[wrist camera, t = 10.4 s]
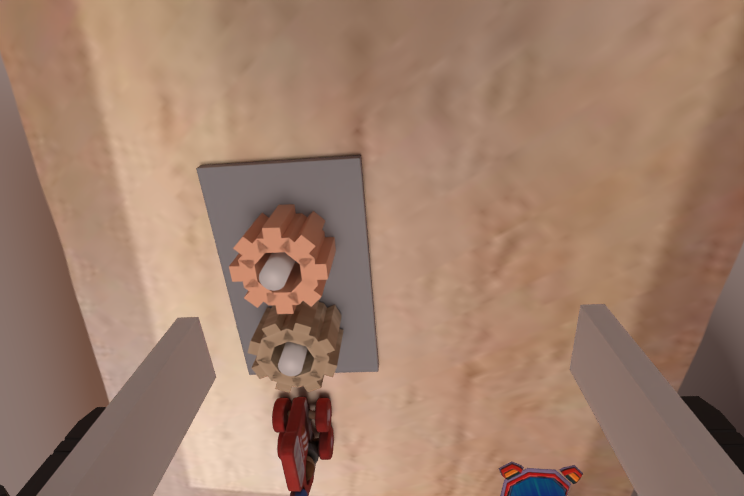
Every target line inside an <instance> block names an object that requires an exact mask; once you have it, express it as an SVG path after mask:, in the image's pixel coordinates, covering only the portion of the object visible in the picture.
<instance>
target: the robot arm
mask: <svg viewBox="0 0 744 496" xmlns="http://www.w3.org/2000/svg"><path fill="white" fill-rule="evenodd" d="M570 371H571V373H572V375H573V376H574V378H575V380H576V382H577V384H578V386H579V387H580V389H581V391H582V393H583V395H584V397H585V399H586V400H587V402H588V404H589V406H590V408H591V410H592V411H593V413H594V415H595V417H596V419H597V421H598V422H599V424H600V426H601V428H602V430H603V432H604V433H605V435H606V437H607V439H608V441H609V443H610V445H611V446H612V448H613V450H614V452H615V454H616V456H617V457H618V459H619V461H620V463H621V465H622V467H623V468H624V470H625V472H626V474H627V476H628V478H629V480H630V481H631V483H632V485H633V487H634V489H635V491H636V492H637V494H638V496H744V437H743V436H742V435H741V434H740V433H737V432H736V429H735V427H734V426H733V425H732V424H731V423H730V422H729V421H728V420H727V419H726V417H725V416H724V415H723V414H722V413H721V412H720V411H719V410H717V409H716V408H714V407H713V406H711V405H710V404H709V403H707V402H706V401H704V400H703V399H702V398H700V397H699V396H683V397H680V396H679V395H678V394H677V392H676V391H675V390H674V389H673V387H672V386H671V385H670V384H669V383H668V381H667V380H666V379H665V378H664V376H663V375H662V374H661V373H660V372H659V370H658V369H657V368H656V367H655V365H654V364H653V363H652V362H651V361H650V359H649V358H648V357H647V356H646V354H645V353H644V352H643V351H642V349H641V348H640V347H639V346H638V345H637V343H636V342H635V341H634V340H633V338H632V337H631V336H630V335H629V334H628V332H627V331H626V330H625V329H624V327H623V326H622V325H621V324H620V323H619V321H618V320H617V319H616V318H615V316H614V315H613V314H612V313H611V311H610V310H609V309H608V308H607V307H606V305H605V304H591V305H580V311H579V317H578V323H577V329H576V335H575V341H574V346H573V352H572V358H571V364H570ZM215 378H216V374H215V371H214V368H213V364H212V361H211V358H210V354H209V351H208V347H207V344H206V341H205V337H204V334H203V331H202V327H201V324H200V321H199V317H187V318H177V319H176V321H175V322H174V323H173V324H172V326H171V327H170V328H169V329H168V331H167V332H166V333H165V334H164V336H163V337H162V338H161V339H160V341H159V342H158V343H157V344H156V346H155V347H154V348H153V349H152V351H151V352H150V353H149V355H148V356H147V357H146V358H145V360H144V361H143V362H142V363H141V365H140V366H139V367H138V368H137V370H136V371H135V372H134V373H133V375H132V376H131V377H130V378H129V380H128V381H127V382H126V383H125V385H124V386H123V387H122V388H121V390H120V391H119V392H118V394H117V395H116V396H115V397H114V399H113V400H112V401H111V402H110V404H109V405H108V406H107V407H97V408H95V409H94V410H93V411H91V412H90V413H89V414H88V415H86V416H85V417H84V418H83V419H81V420H80V421H78V423H77V424H76V425H75V426H74V427H73V428H72V430H71V431H70V432H69V433H68V435H67V436H66V437H65V440H64V441H62V442H61V443H60V444H59V445H58V446H57V448H56V449H55V450H54V453H53V454H52V455H50V456H49V457H48V458H47V459H46V461H45V462H44V463H43V464H42V465H41V467H40V468H39V469H38V470H37V471H36V473H35V474H34V475H33V476H32V477H31V478H30V480H29V481H28V482H27V483H26V484H25V486H24V487H23V488H22V489H21V490H20V492H19V493H18V494H17V495H16V496H153V494H154V492H155V490H156V488H157V486H158V485H159V483H160V481H161V479H162V477H163V475H164V473H165V472H166V470H167V468H168V466H169V464H170V462H171V460H172V459H173V457H174V455H175V453H176V451H177V449H178V447H179V445H180V444H181V442H182V440H183V438H184V436H185V434H186V432H187V431H188V429H189V427H190V425H191V423H192V421H193V419H194V418H195V416H196V414H197V412H198V410H199V408H200V406H201V404H202V403H203V401H204V399H205V397H206V395H207V393H208V391H209V390H210V388H211V386H212V384H213V382H214V380H215ZM0 496H10V495H9V494H8V492H7V491H6V489H5V488H4V486H2V485H0Z"/></svg>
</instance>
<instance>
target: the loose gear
mask: <svg viewBox="0 0 744 496" xmlns="http://www.w3.org/2000/svg"><path fill="white" fill-rule="evenodd" d="M324 223H325V220H324V219H323V218H322V217H320V216H319V215H318V214H317V213H315V212H314V211H312V213H311V214H310V215H309V216H308V217H306V216H305V215H303V214H302V213H298V214H296V212H295V205H294V204H286V205H278V206H277V208H276V209H275V211H274V212H273V213H272V215H271V216H270V217H267V216H266V215H265V214H264V213H261V214H260V216H259V217H258V218H257V219H256V220H255V221H254V223H253V224H252V225H251V226H250V228H249V229H248V230H247V231H246V233H245V234H244V235H243V236H242V238H241V239H240V240H239V242H238V243H237V244H236V245H235V247H234V248H233V249H234V250H236V251H237V252H238V253H239V254H238V255H237V256H236V258H235V259H234V260H233V262H232V263H231V264H230V266H229V269H230V274H231V278H232V282H241V281H243V285H244V288H245V289H247V290H248V292H247V293H246V295H245V297H244V299H246V300H247V301H248V302H250V303H251V304H253V305H254V306H255V307H257V308H258V307H259V306H260V305H261V304H262V302H265V303H266V304H268V305H276V310H277V314H294V311H295V309H296V306H297V305H299V304H300V303H301V302H302V301H304V302H305V303H307V304H308V305H309V306H311V307H312V306H313V305H314V304H315V303H316V302H317V301H318V300H319V299H320V298H321V297H322V294H323V291H324V287H325V284H326V280H327V279H328V277H329V274H330V270H331V267H332V263H333V259H334V256H335V252H336V247H335V237H325V233H324V231H323V230H322V229H323V226H324ZM276 252H285V253H286V254H287V255H289V256H290V257H291V258H293V259H294V260H295V261H296V262H298V263H294V266H293V268H292V270H291V272H290V274H289V277H288V279H287V281H286V283H285V285H284V287H283V288H281V289H280V290H276V291H273V290H268V289H266V288H265V287H263V286H262V284H261V283H260V281H259V274H260V272H261V270H262V269H263V267H264V265H265V263H266V262H267V260H268V258H269V257H270V255H271V253H276Z"/></svg>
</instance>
